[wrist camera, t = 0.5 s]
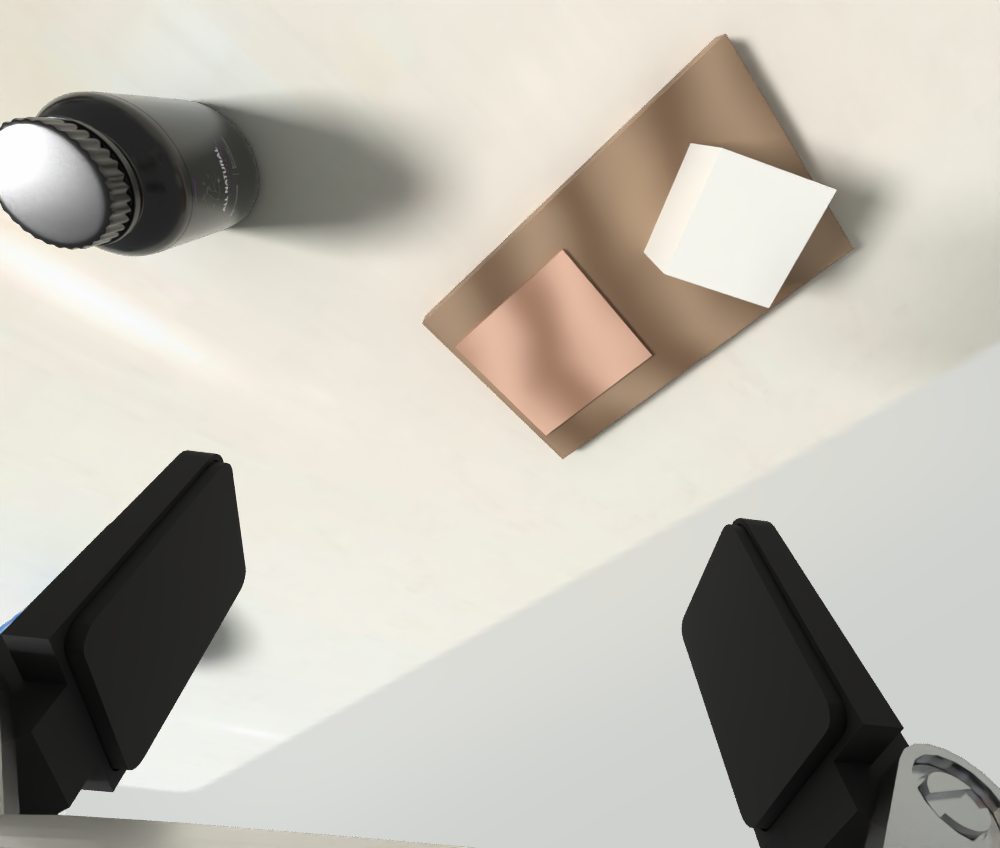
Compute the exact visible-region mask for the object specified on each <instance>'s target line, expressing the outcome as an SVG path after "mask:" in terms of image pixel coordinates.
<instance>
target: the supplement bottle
mask: <svg viewBox="0 0 1000 848" xmlns="http://www.w3.org/2000/svg"><path fill="white" fill-rule="evenodd" d="M257 191H258V172H257V167H256V163H255V159H254V156H253V154H252V151H251V149H250V147H249V145H248V143H247V142H246V140H245V139H244V137H243V136H242V134H241V133H240V132H239V130H238V129H237V128H236V127H235V126H234V125H233V124H232V123H231V122H230V121H229V120H228V119H227V118H225V117H224V116H223V115H222V114H220V113H219V112H217V111H216V110H214V109H212V108H210V107H208V106H206V105H203V104H200V103H197V102H193V101H188V100H180V99H170V98H158V97H147V96H136V95H125V94H113V93H102V92H74V93H69V94H65V95H62V96H60V97H57V98H55V99H54V100H52V101H50V102H49V103H48V104H47V105H45V106H44V107H43V108H42V109H41V110H40V112H39V113H38V114H37V116H36V117H27V118H15V119H13V120H12V121H11V122H4V123H3V124H2V126H1V127H0V203H1V205H2V208H3V210H4V211H5V212H7V213H8V214H9V215H10V217H11V218H12V220H13V221H14V222H16V223H17V224H19V225H20V226H21V228H22V229H23V230H24V231H26V232H29V233H31V234H32V235H33V236H34V237H35V238H37V239H40V240H42V241H44V242H45V243H46V244H53V245H55V246H56V247H58V248H68V249H78V248H80V249H86V248H89V247H93V246H95V247H97V248H99V249H102V250H105V251H107V252H111V253H114V254H118V255H124V256H145V255H150V254H154V253H158V252H161V251H164V250H167V249H170V248H173V247H176V246H179V245H182V244H184V243H187V242H190V241H193V240H196V239H199V238H202V237H204V236H207V235H210V234H213V233H216V232H219V231H222V230H224V229H227V228H229V227H232V226H233V225H235V224H237V223H239V222H240V221H241V220H242V219H244V218H245V217H246V216H247V214H248V213H249V212H250V210H251V208H252V207H253V205H254V202H255V200H256V196H257Z"/></svg>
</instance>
